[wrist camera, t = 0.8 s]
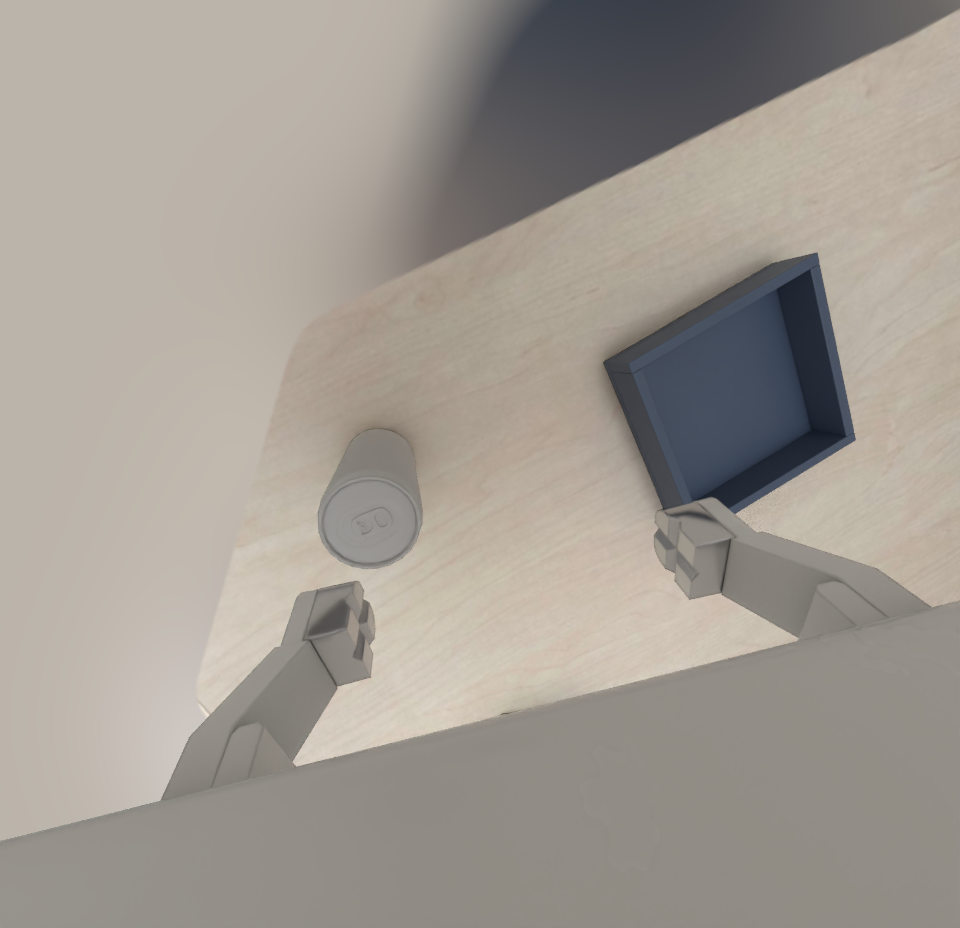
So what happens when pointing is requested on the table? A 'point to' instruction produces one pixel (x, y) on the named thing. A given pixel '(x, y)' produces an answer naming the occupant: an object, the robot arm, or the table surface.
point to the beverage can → (372, 502)
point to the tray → (738, 390)
